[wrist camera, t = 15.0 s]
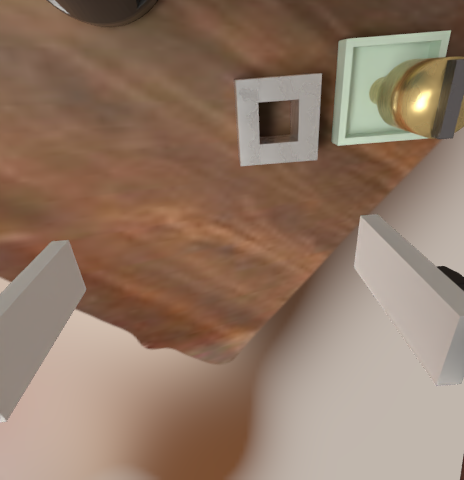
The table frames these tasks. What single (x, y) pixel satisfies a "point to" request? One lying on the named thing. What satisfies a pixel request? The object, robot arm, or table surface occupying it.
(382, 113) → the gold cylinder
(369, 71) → the tray
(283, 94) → the silver square block
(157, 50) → the table surface
